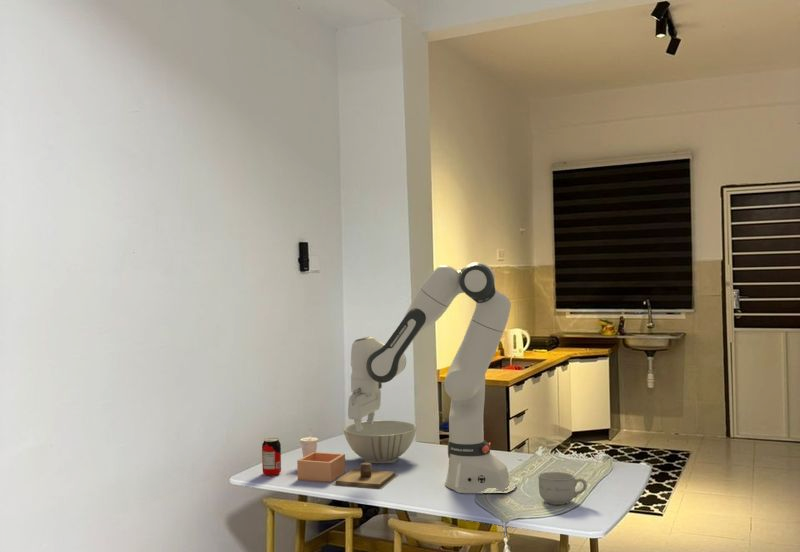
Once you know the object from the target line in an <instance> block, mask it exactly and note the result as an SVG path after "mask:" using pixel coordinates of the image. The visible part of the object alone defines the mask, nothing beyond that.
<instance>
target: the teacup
mask: <svg viewBox="0 0 800 552" xmlns="http://www.w3.org/2000/svg"><path fill="white" fill-rule="evenodd" d="M537 475H538V476H537V477H538V491H539V493H538V494H539V496H540V497H541V498H542V499H543V500H544V501H545V502H546V503H547V504H550V505H557V504H561V505H566V504H565V503H567V504H569V503H570V502H571V501H572V500H574V499H576V498H577V497H578V496H579V495H581V494H583V493H584V492H585V491H586V490H587V487H588V484H587V480H585V478H582V477H577V478H576V475H575V474H572V473H570V472H569V473H568V472H563V471H561V472H560V471H547V472H541V473H539V474H537ZM578 482H581V483H582V485H583V486H582V488H581V489H580V490H578V491H576V487H577V484H578ZM568 502H569V503H568Z"/></svg>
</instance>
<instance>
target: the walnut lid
mask: <svg viewBox="0 0 800 552" xmlns="http://www.w3.org/2000/svg"><path fill="white" fill-rule="evenodd" d="M359 465H360V468H353V469H351V470H350V471H348V472H346V473H345V474H343V475H342V476H340V477H339V478H337V479H336V480H335V483H336V485H348V486H361V487H373V488H380V487H381V486H383V485H384V484H385V483H386V482H387V481H389V480H390V479H391V478H392V477H394V476H395V475H396V472H395V471H391V470H375V469H372V463H370V462H362V463H360V464H359Z"/></svg>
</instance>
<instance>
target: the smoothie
mask: <svg viewBox="0 0 800 552" xmlns="http://www.w3.org/2000/svg"><path fill="white" fill-rule="evenodd" d="M299 441H300V445H301V451H302V458H303V457H305V456H307V455H309V454H311V453H312V452H317V448H318V447H317V446H318V442H319V439H318V437H313V436H312V426H309V436H308V437H302V438H301V439H300V440H299Z"/></svg>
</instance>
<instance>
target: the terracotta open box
mask: <svg viewBox="0 0 800 552" xmlns="http://www.w3.org/2000/svg"><path fill="white" fill-rule="evenodd" d="M296 466H297V481H305V482H317V483H330V484H331V483H333V482H334V481H336V480H338V479H339V478H341V477H342V476H344V475H345V474H346V454H345V453H334V452H332V453H331V452H320V451H319V452H318V451H316V452H312V453H311V454H309V455H307V456H305V457H303V456H302V457H301V458H300V459H298V460H297V465H296Z"/></svg>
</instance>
